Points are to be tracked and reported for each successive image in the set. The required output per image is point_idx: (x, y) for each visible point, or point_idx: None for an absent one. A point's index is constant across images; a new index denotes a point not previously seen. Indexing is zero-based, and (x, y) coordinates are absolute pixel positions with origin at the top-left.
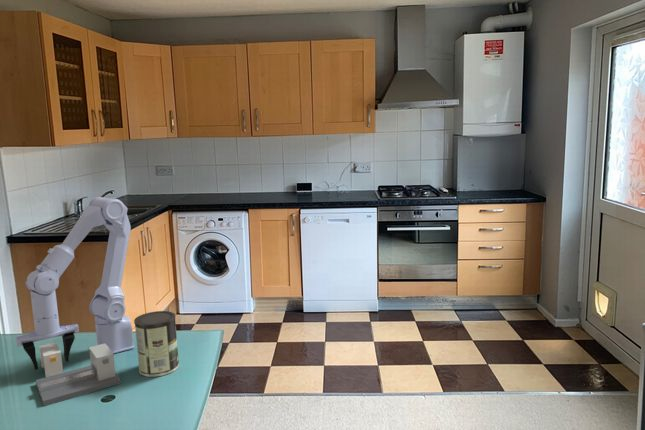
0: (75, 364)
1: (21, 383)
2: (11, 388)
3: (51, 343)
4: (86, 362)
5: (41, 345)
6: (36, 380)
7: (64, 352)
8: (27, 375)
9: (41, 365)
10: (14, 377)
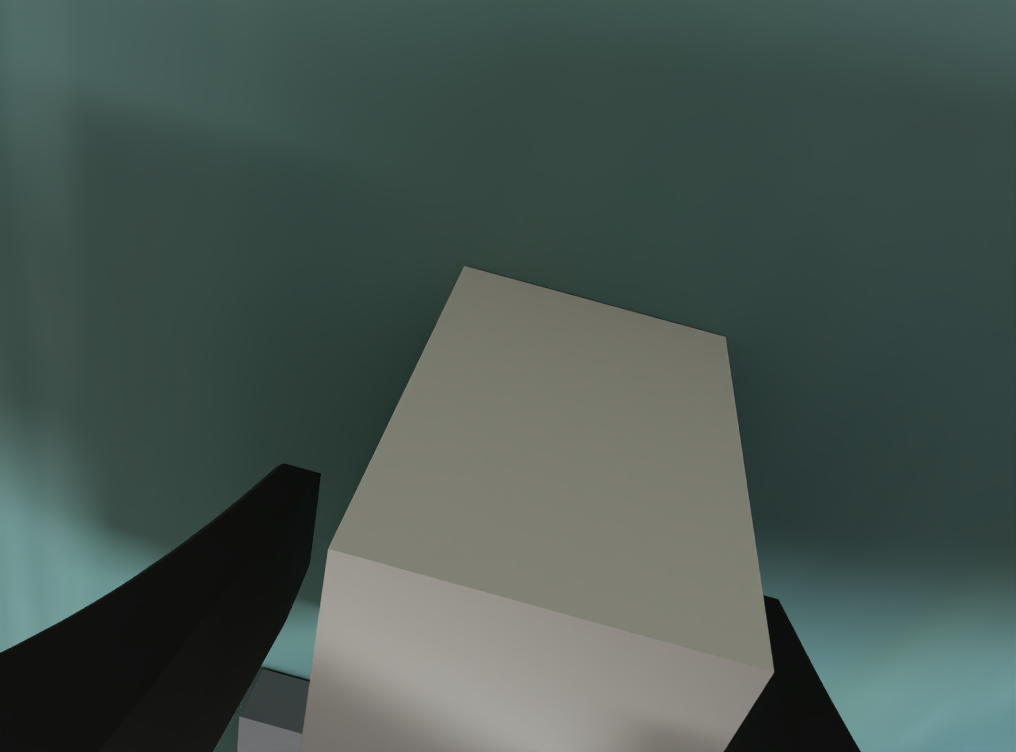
0: (836, 597)
1: (129, 528)
2: (26, 548)
3: (637, 672)
4: (966, 658)
5: (383, 587)
6: (243, 726)
7: (749, 735)
8: (218, 385)
9: (459, 276)
10: (54, 297)
